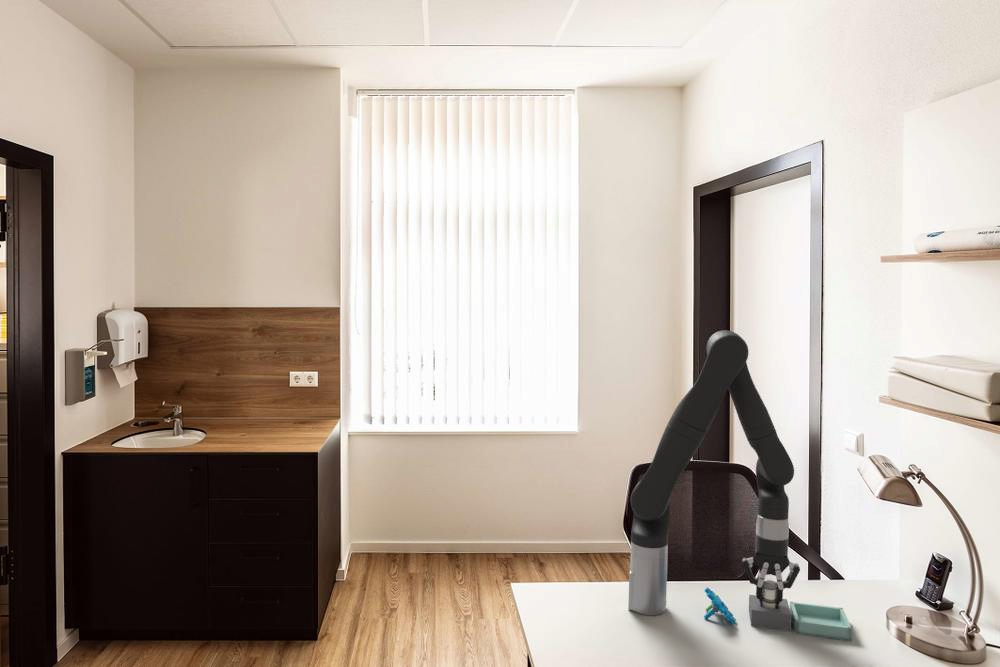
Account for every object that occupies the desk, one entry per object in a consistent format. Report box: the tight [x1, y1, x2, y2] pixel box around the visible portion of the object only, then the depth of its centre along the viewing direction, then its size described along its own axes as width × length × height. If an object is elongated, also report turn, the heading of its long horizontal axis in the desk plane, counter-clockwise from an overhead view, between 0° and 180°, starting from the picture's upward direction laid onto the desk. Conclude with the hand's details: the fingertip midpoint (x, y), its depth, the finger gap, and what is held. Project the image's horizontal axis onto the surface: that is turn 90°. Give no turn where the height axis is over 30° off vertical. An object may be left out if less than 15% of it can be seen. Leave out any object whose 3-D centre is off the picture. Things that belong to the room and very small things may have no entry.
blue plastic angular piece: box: [703, 587, 737, 625], centre depth 177 cm, size 11×6×10 cm
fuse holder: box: [748, 594, 792, 632], centre depth 177 cm, size 9×9×4 cm
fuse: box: [762, 579, 777, 609], centre depth 177 cm, size 3×3×9 cm
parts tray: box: [789, 601, 853, 642], centre depth 174 cm, size 12×11×3 cm
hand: (769, 601), depth 177 cm, fingers closed on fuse, 3 cm apart
